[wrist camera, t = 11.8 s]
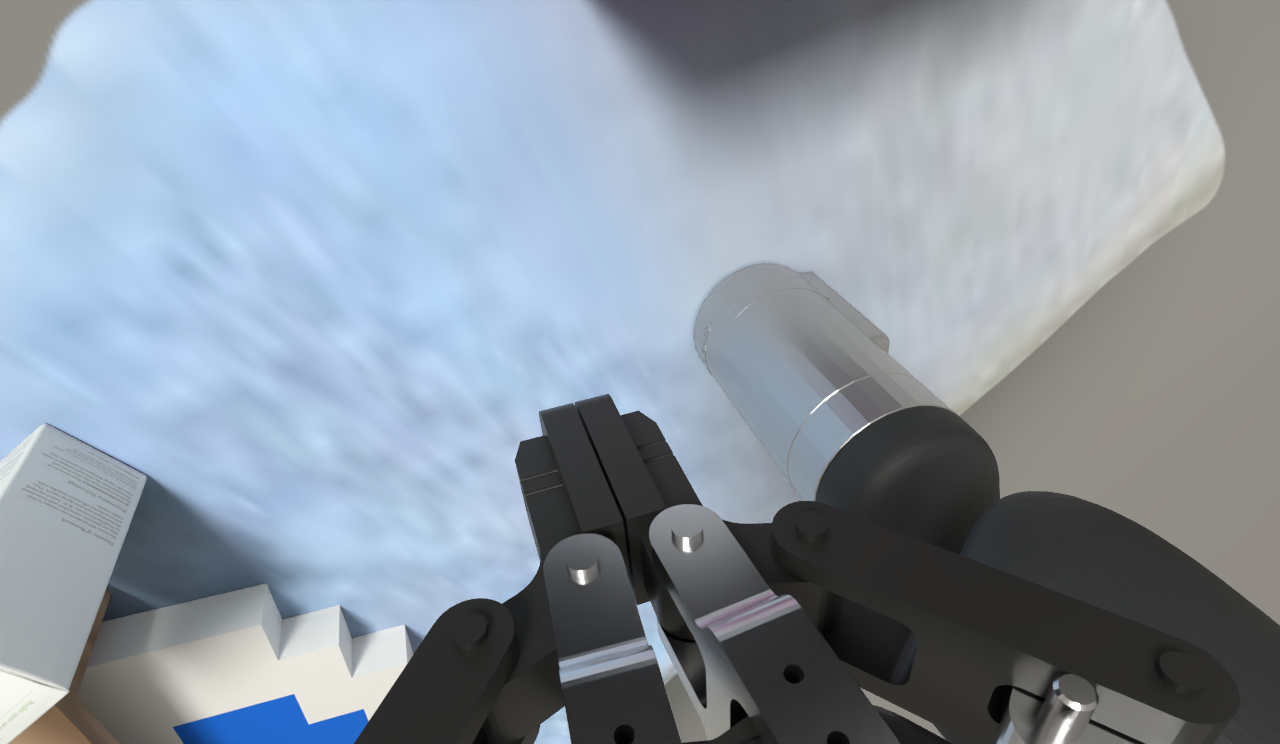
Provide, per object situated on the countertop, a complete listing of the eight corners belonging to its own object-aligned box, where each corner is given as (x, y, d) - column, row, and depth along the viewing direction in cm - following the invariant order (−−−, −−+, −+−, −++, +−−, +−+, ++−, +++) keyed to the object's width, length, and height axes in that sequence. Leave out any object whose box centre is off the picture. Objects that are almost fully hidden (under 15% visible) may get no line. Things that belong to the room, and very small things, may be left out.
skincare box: (59, 553, 45) (-52, 803, 33) (-61, 502, 41) (-237, 765, 29) (154, 471, 44) (77, 698, 32) (41, 412, 40) (-96, 644, 28)
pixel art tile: (385, 593, 51) (448, 795, 66) (383, 552, 54) (444, 754, 70) (-100, 713, 44) (99, 907, 59) (-69, 657, 47) (112, 855, 63)
